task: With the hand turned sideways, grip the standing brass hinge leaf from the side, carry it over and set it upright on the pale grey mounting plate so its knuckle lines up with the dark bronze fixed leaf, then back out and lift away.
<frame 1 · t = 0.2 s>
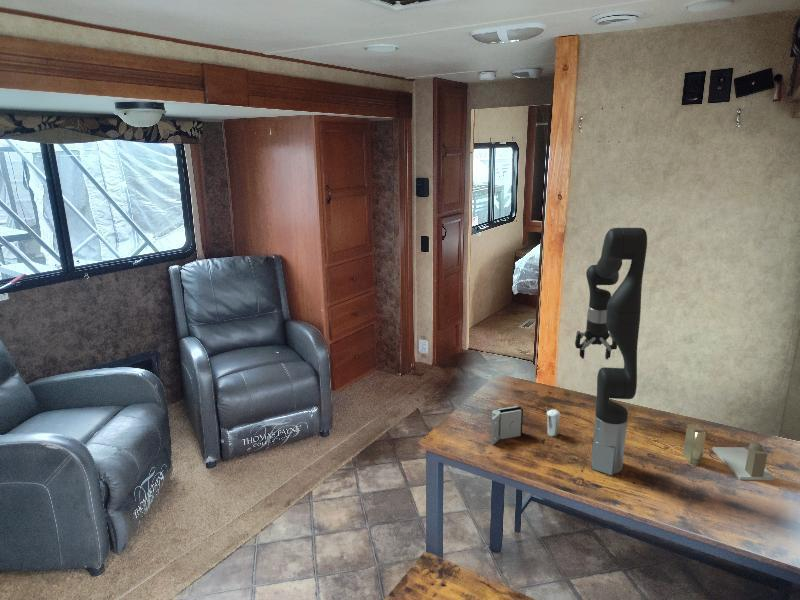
hand: (594, 358, 197), 22 cm above the table, tool pointing down, fingers open, 8 cm apart
mounting plate: (737, 459, 171), on the table
milkshake: (551, 434, 188), on the table
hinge: (504, 438, 187), on the table
brass leaf: (691, 458, 172), on the table
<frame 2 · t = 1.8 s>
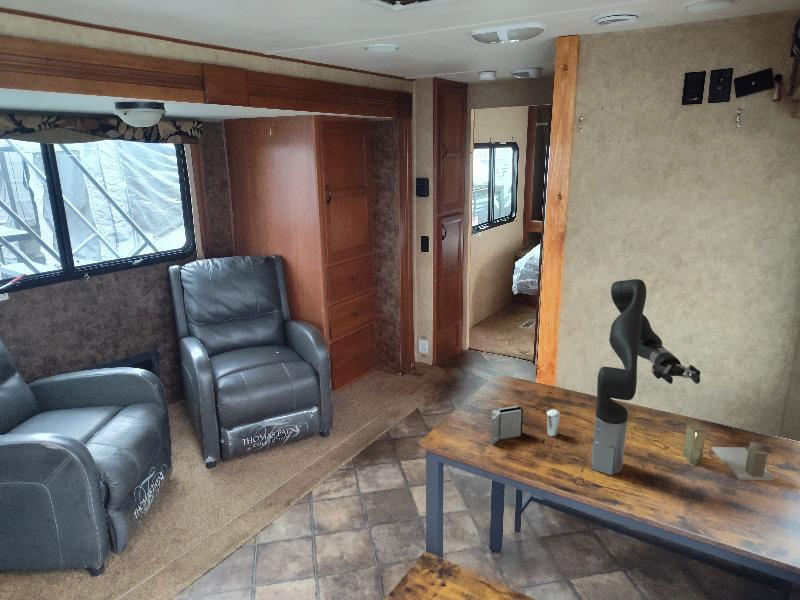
hand: (684, 381, 176), 22 cm above the table, tool horizontal, fingers open, 8 cm apart
nothing on the table moved.
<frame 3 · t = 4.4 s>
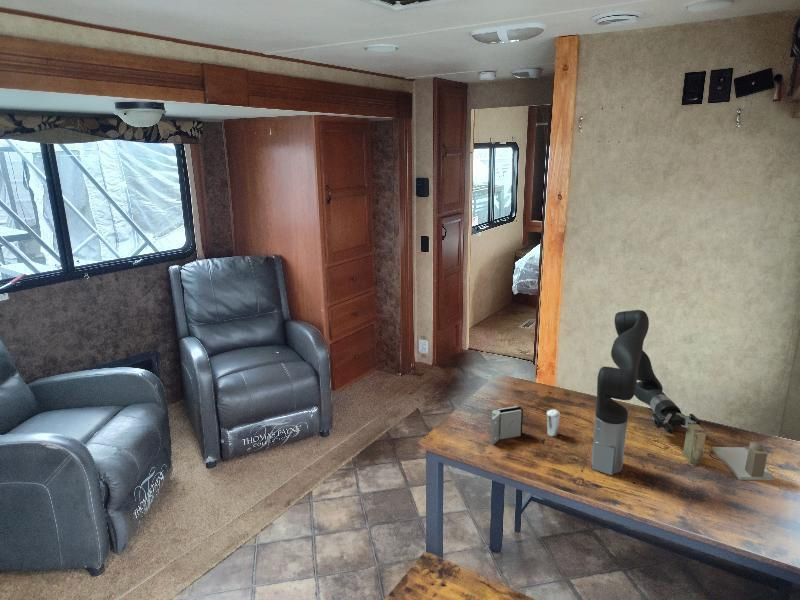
hand: (685, 432, 176), 6 cm above the table, tool horizontal, fingers open, 8 cm apart
nothing on the table moved.
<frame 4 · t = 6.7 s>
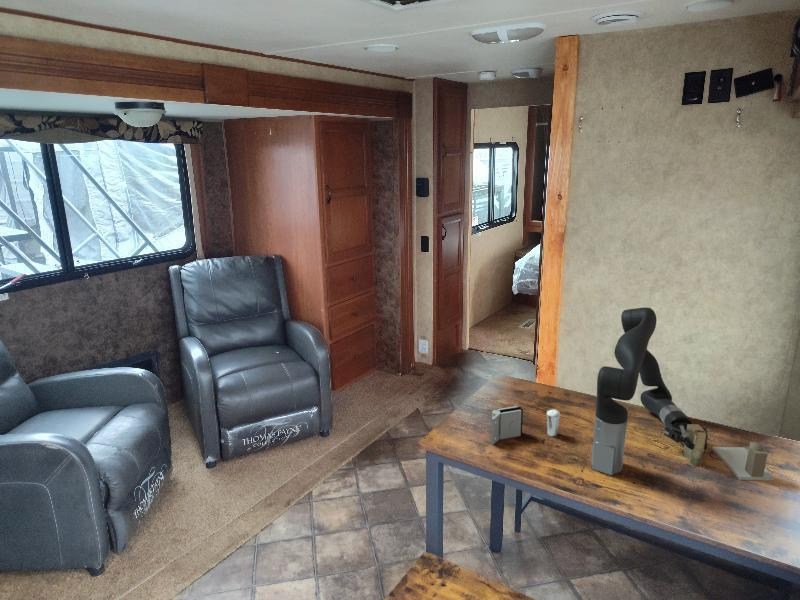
hand: (698, 447, 167), 6 cm above the table, tool horizontal, fingers closed on brass leaf, 3 cm apart
brass leaf: (692, 458, 172), on the table, touching gripper
everything else where it was.
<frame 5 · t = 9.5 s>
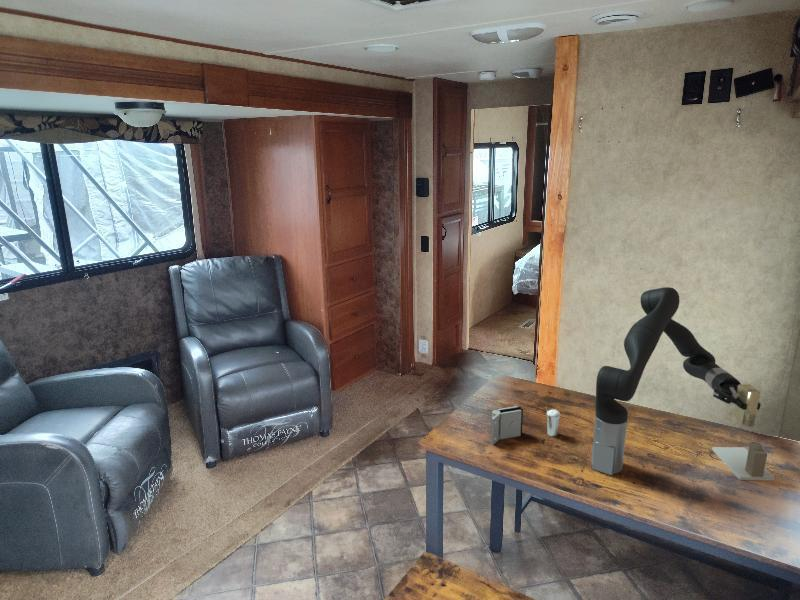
hand: (751, 407, 163), 20 cm above the table, tool horizontal, fingers closed on brass leaf, 3 cm apart
brass leaf: (743, 419, 167), point 14 cm above the table, touching gripper
everything else where it was.
when the fingers open (8 cm above the table, at t = 12.6 s): brass leaf drops 1 cm, resting on mounting plate.
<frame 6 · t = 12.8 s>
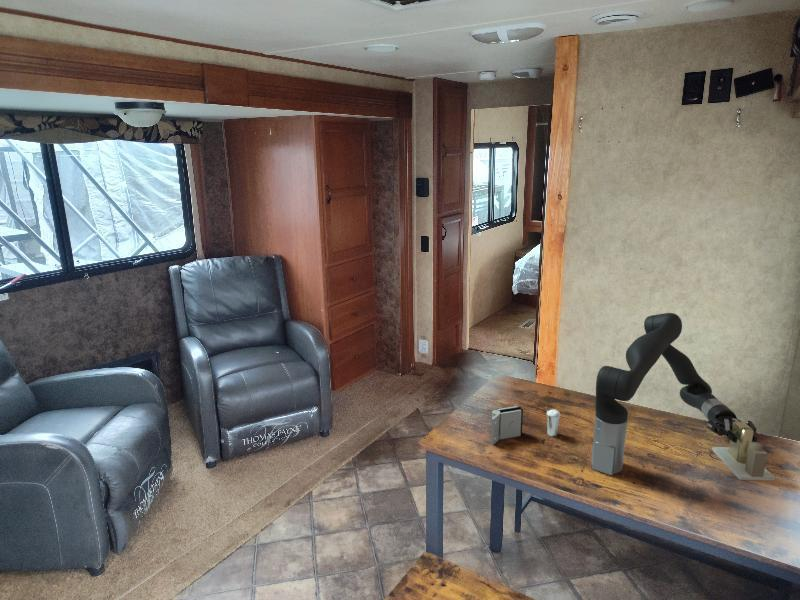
hand: (745, 440, 166), 8 cm above the table, tool horizontal, fingers open, 5 cm apart
brass leaf: (737, 456, 170), point 1 cm above the table, touching mounting plate
everything else where it was.
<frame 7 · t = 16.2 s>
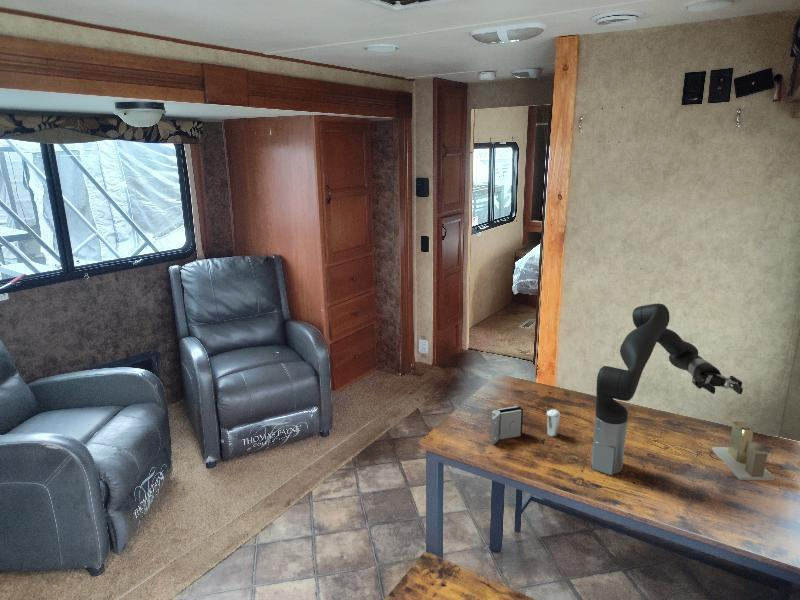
hand: (727, 391, 176), 19 cm above the table, tool horizontal, fingers open, 8 cm apart
nothing on the table moved.
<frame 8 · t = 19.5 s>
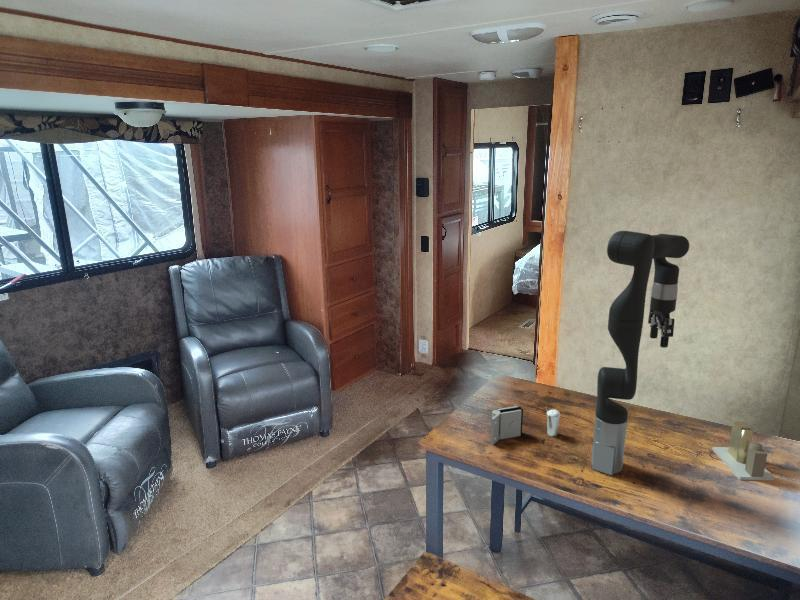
hand: (658, 342, 177), 34 cm above the table, tool pointing down, fingers open, 8 cm apart
nothing on the table moved.
at the end: brass leaf 0.0 cm off-centre on the mounting plate, point 1.0 cm above the mounting plate's base; brass leaf tilted 0°; the gripper is holding nothing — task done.
